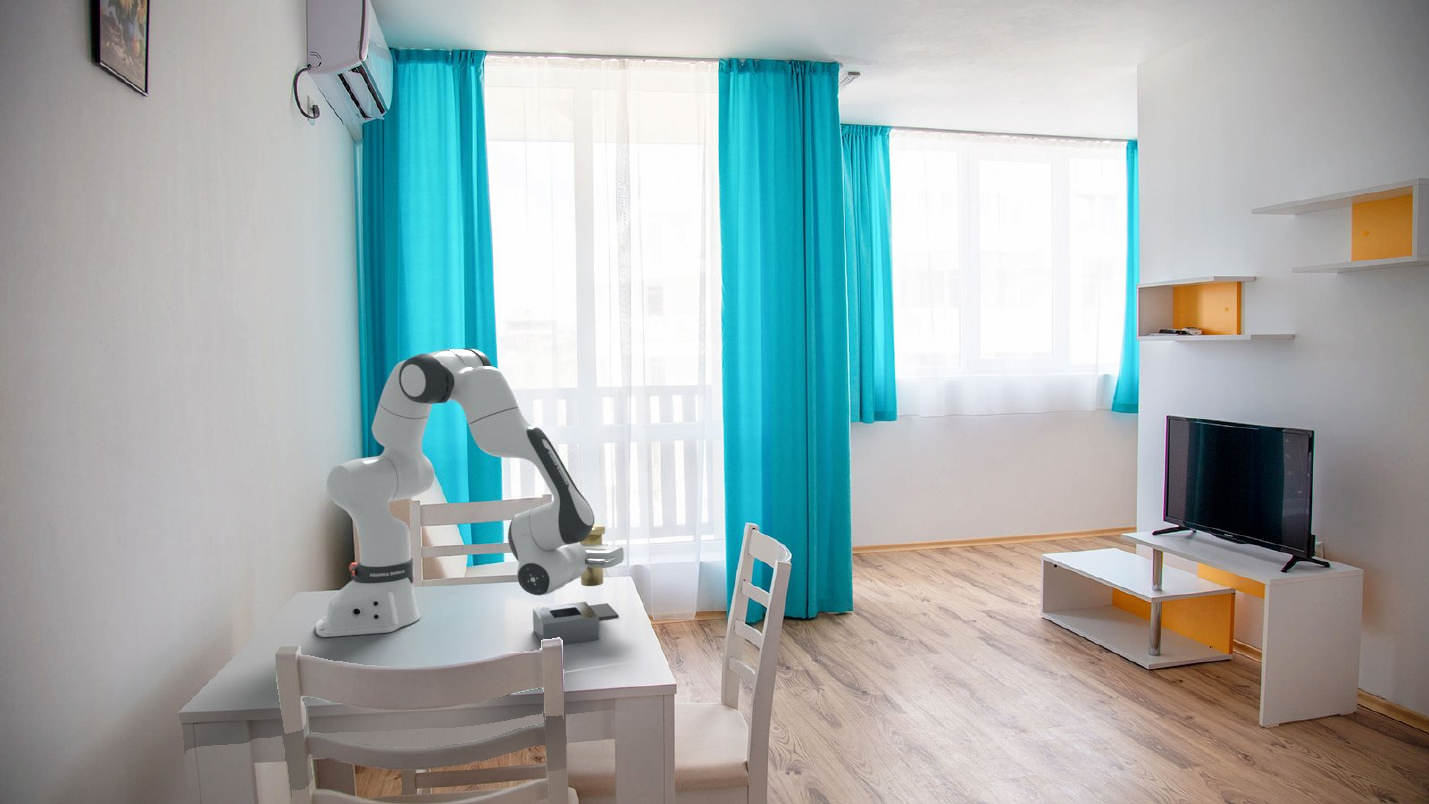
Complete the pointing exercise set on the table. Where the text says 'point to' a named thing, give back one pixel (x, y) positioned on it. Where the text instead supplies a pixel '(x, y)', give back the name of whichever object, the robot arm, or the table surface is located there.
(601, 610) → the mat
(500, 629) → the table surface
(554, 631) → the housing
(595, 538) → the brass flanged peg
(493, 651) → the table surface
